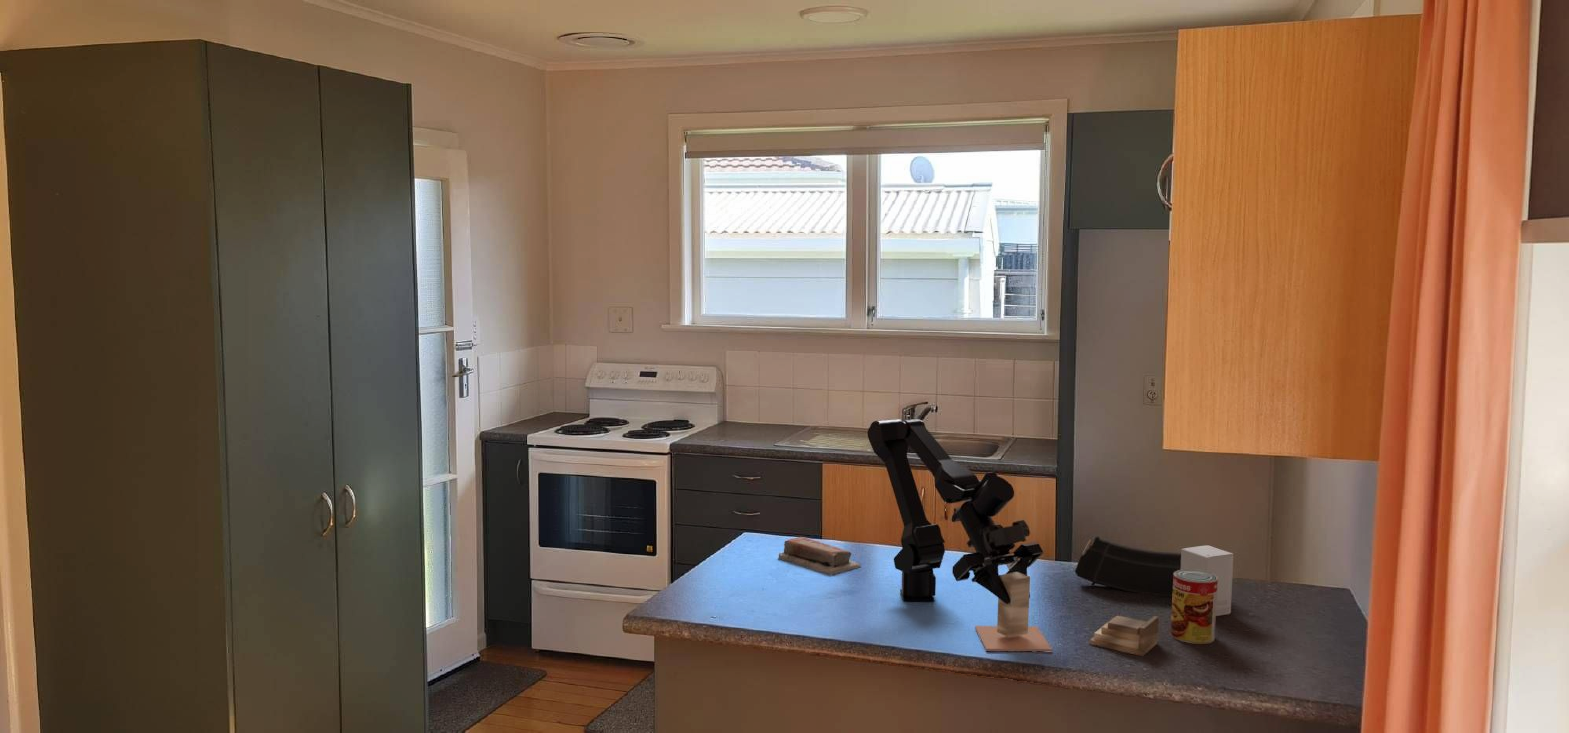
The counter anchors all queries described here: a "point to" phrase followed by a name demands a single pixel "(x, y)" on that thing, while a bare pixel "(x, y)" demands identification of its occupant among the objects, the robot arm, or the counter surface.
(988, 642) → the tile
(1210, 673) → the counter surface
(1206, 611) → the canned food
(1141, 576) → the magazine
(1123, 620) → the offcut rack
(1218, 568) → the supplement box
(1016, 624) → the tall wooden block
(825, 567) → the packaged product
